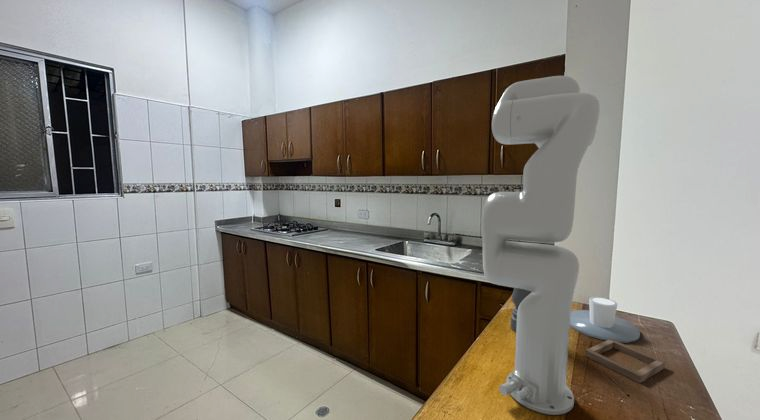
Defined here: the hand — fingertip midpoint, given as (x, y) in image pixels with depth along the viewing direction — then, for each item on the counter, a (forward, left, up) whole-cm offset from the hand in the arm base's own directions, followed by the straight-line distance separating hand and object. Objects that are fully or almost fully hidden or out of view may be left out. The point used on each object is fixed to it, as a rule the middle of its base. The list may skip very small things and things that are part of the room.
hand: (553, 223), depth 96 cm
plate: (+7, -12, -30) cm, 33 cm away
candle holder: (-15, -2, -31) cm, 34 cm away
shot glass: (+7, -12, -30) cm, 33 cm away
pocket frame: (-7, -25, -30) cm, 40 cm away
